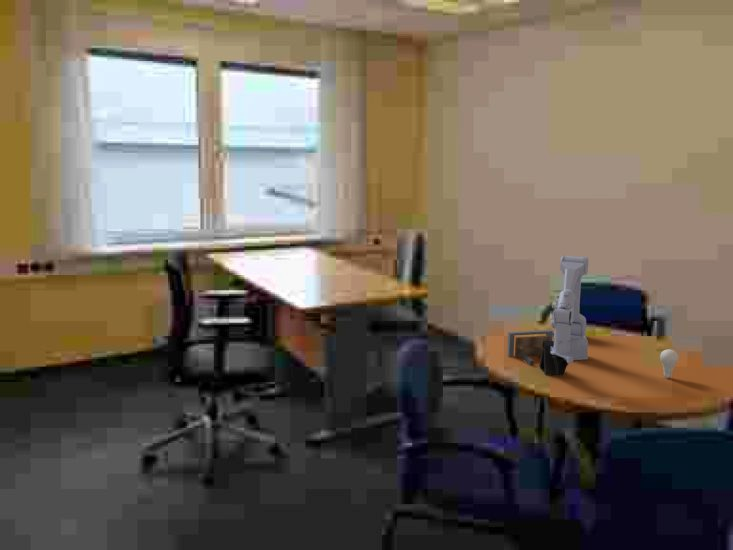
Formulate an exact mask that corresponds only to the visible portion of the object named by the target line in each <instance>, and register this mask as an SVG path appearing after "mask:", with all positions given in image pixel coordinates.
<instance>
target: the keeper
mask: <svg viewBox="0 0 733 550" xmlns="http://www.w3.org/2000/svg"><path fill="white" fill-rule="evenodd" d="M541 353H542V352H541ZM521 358H522V360H523V361H524V360H525V361H526V362H527V363H526V362H525V361H524V362H525V363H526V364H527V365H529V366H530V365H531V366H534V360H533V359H532V358H531V357H530V356H529V357H528V356H527V355H526V354H524V353H522V354H521V357H520V359H521Z"/></svg>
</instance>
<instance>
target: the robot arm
mask: <svg viewBox="0 0 733 550" xmlns="http://www.w3.org/2000/svg"><path fill="white" fill-rule="evenodd" d="M559 263H560V264H559V270H560V271H561V274H562V275H564V279H563V281H564V283H563V290H561V291H560V292H559V295H558V296H559V299H558V305H557V309H555V311H554V310H553V316H554V317H552V319H553V318H554V328H553V329H554V331H553V333H554V336H553V341H554V346H553V347H552V346H551V347H550V351H551V352H550V353H551V354H553V355H555V356H552V359H553V361H554V364H555V368H556V373H557V375H556V376H558V377H562V376H564V374H565V372H566V370H567V367H568V365H569V364H572V363H574V361H581V360H582V361H583V360H585V361H586V360H589V357H588V349H589V341H588V338H587V336H586V333H587V319H586V318H587V317H585V316H584V315H583V314H581V313H580V304H581V287H582V278H583V276H586V275H588V271H589V258H588V256H572V255H562V256H561V257H560V261H559Z"/></svg>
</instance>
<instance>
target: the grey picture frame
mask: <svg viewBox="0 0 733 550" xmlns="http://www.w3.org/2000/svg"><path fill="white" fill-rule="evenodd" d="M553 333H554V330H551V329H540V330H539V329H538V330H519V331H507V347H506V348H507V350H506V356H508V357H509V356H513V357H515V336H528V335H530V336H531V335H544V334H545V336H549V341H553V337H554V336H553Z"/></svg>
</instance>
